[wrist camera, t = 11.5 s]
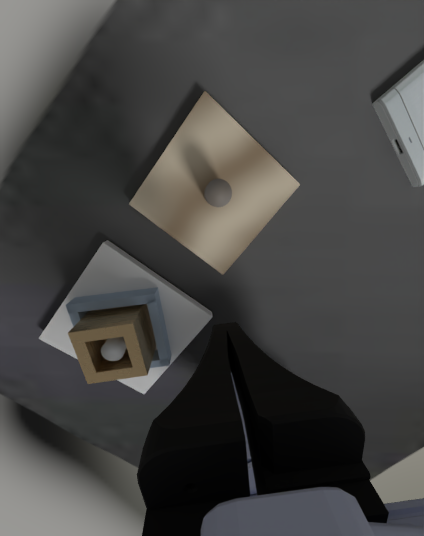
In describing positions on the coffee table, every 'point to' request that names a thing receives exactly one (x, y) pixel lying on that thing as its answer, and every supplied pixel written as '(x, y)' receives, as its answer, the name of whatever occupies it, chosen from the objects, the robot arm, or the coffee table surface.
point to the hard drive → (406, 121)
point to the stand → (213, 186)
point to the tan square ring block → (112, 326)
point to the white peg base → (127, 294)
